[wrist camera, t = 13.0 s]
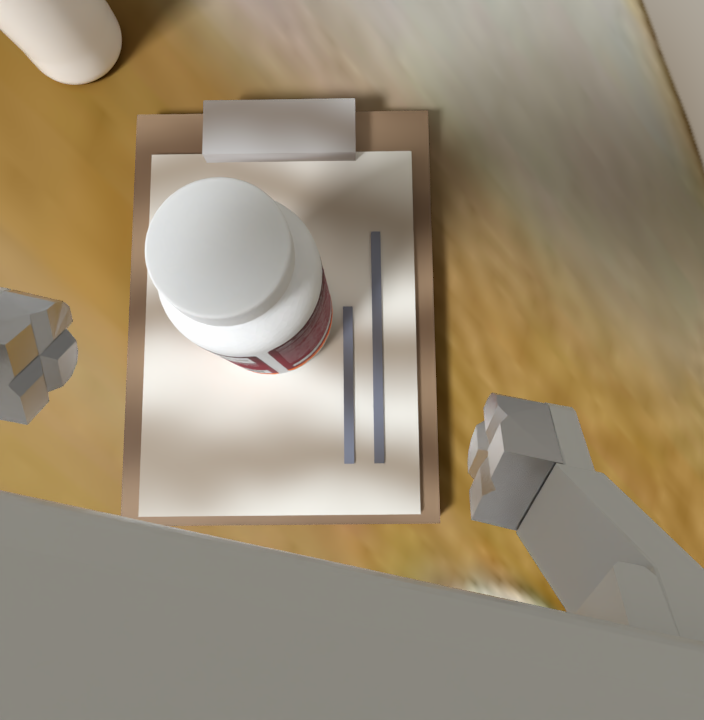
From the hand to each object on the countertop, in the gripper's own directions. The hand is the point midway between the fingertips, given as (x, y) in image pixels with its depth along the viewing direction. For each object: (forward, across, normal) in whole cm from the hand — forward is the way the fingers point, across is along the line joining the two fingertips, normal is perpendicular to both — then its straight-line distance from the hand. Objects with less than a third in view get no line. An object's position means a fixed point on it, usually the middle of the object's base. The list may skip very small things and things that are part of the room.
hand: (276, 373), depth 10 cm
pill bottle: (+15, +3, +9) cm, 18 cm away
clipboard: (+17, +3, +9) cm, 19 cm away
